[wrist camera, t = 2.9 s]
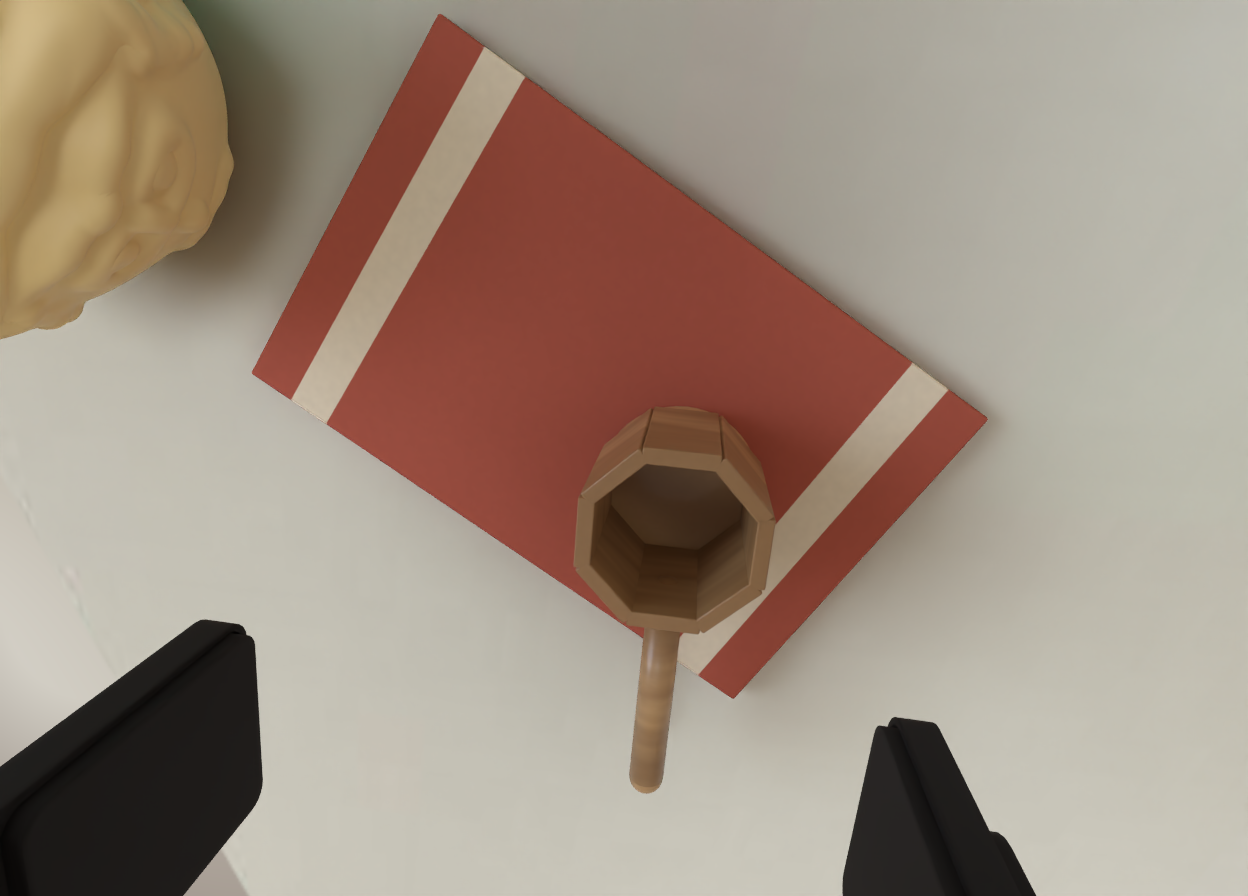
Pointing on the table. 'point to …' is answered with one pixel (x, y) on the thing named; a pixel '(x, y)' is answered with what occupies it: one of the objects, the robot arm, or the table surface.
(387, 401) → the towel
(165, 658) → the robot arm
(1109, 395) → the table surface
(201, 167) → the gathered cream pouch
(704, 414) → the scoop
